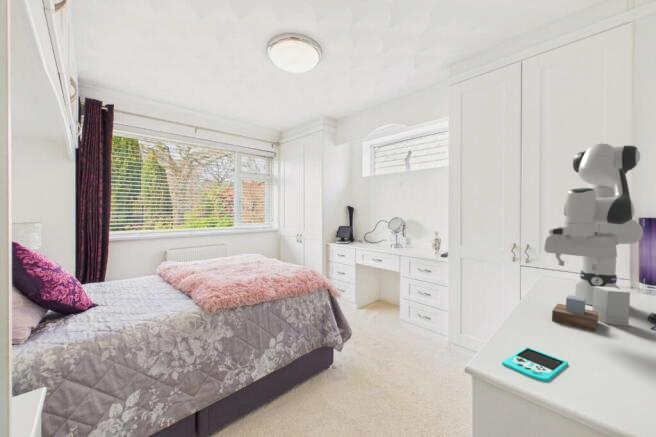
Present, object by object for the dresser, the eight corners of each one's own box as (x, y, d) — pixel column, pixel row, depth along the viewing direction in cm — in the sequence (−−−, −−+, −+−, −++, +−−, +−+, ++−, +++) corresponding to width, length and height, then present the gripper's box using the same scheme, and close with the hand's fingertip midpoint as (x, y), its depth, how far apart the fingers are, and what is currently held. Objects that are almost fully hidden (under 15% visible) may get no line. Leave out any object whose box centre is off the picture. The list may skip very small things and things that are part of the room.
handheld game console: (500, 365, 75) (500, 360, 75) (526, 350, 84) (526, 345, 84) (544, 385, 67) (545, 380, 67) (568, 366, 76) (568, 361, 76)
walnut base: (557, 313, 114) (557, 303, 114) (597, 322, 105) (598, 311, 105) (551, 320, 106) (552, 310, 106) (595, 331, 97) (596, 320, 97)
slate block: (567, 307, 109) (568, 295, 109) (584, 311, 105) (585, 298, 105) (565, 310, 105) (566, 297, 105) (583, 314, 102) (584, 301, 102)
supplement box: (629, 326, 102) (631, 292, 101) (605, 324, 103) (607, 290, 103) (613, 318, 109) (614, 287, 109) (591, 316, 111) (592, 285, 110)
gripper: (619, 232, 99) (617, 271, 99) (547, 229, 114) (545, 262, 114) (619, 233, 94) (617, 273, 95) (544, 229, 109) (542, 264, 110)
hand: (577, 267), depth 105 cm, fingers open, 8 cm apart
